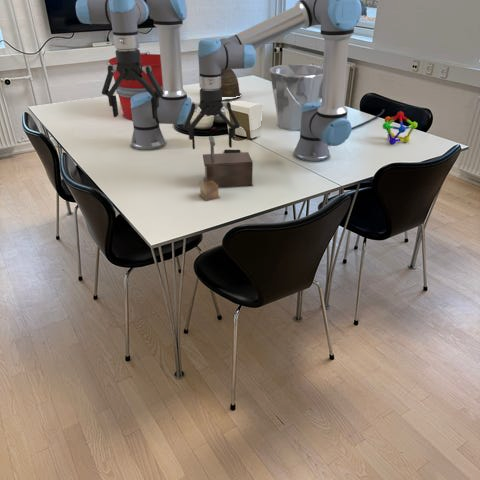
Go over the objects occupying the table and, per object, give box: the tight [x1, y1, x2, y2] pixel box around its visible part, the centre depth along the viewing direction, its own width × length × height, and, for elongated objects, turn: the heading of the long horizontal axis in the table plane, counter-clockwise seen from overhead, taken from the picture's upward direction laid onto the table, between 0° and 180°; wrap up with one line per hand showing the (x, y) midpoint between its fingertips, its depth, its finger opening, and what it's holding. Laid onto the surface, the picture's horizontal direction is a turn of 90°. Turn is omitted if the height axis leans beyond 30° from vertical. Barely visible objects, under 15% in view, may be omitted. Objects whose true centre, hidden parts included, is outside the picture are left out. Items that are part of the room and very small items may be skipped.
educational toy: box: [382, 110, 418, 145], centre depth 207 cm, size 16×13×15 cm
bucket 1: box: [105, 51, 163, 121], centre depth 241 cm, size 35×35×30 cm
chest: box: [204, 163, 254, 189], centre depth 170 cm, size 17×10×9 cm, turn 98°
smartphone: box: [223, 149, 241, 153], centre depth 194 cm, size 7×1×15 cm
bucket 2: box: [269, 63, 323, 131], centre depth 226 cm, size 30×30×28 cm
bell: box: [220, 69, 242, 97], centre depth 278 cm, size 19×26×20 cm
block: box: [199, 180, 220, 201], centre depth 160 cm, size 5×5×5 cm
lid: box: [202, 135, 254, 168], centre depth 165 cm, size 18×10×9 cm, turn 98°
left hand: (135, 116), depth 150 cm, fingers open, 13 cm apart
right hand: (212, 147), depth 164 cm, fingers open, 13 cm apart
